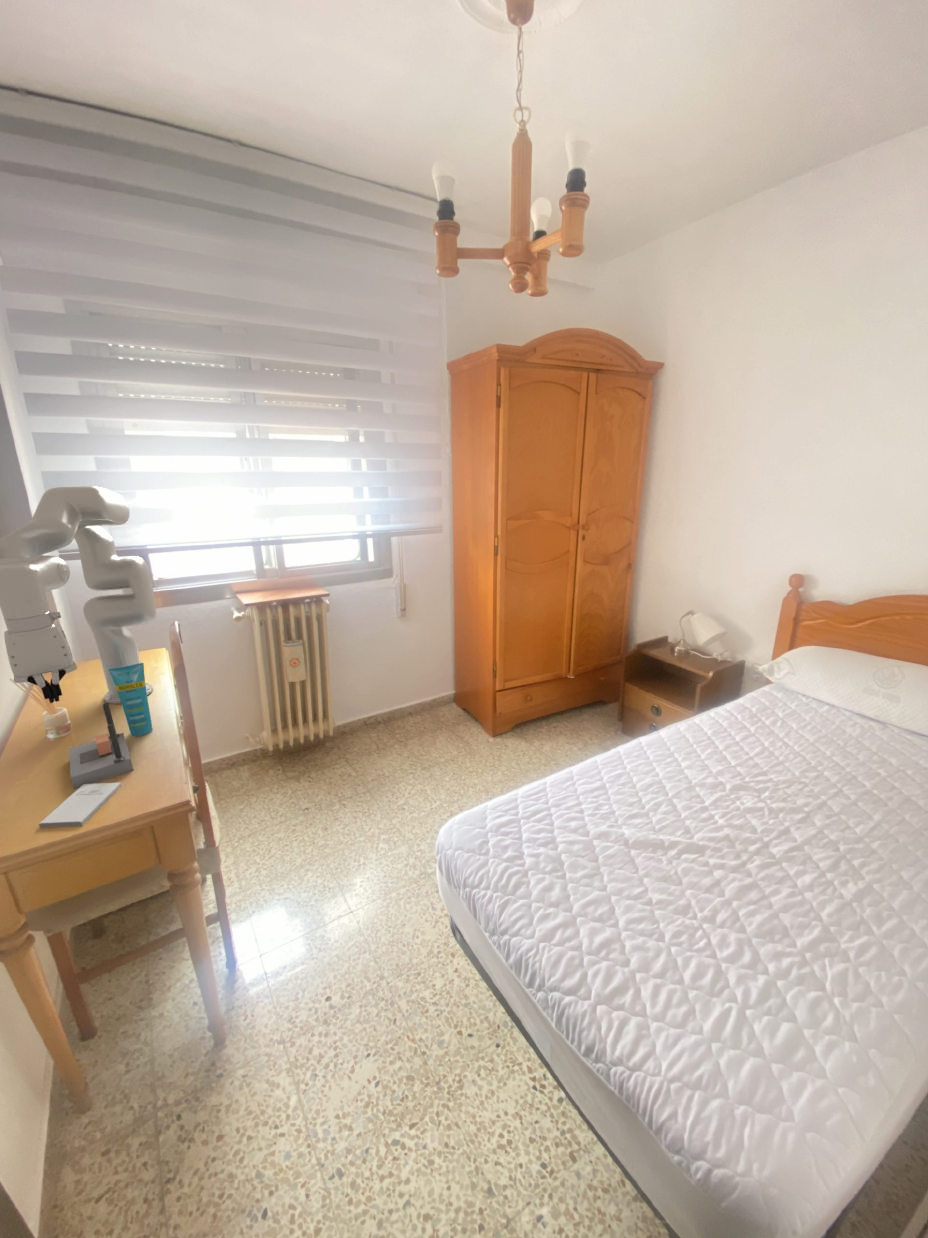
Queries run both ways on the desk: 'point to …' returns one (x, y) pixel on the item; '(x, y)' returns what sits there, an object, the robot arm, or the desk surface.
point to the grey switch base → (97, 762)
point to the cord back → (108, 714)
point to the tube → (133, 697)
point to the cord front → (114, 741)
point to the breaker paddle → (103, 744)
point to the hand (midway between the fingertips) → (54, 699)
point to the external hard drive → (80, 805)
